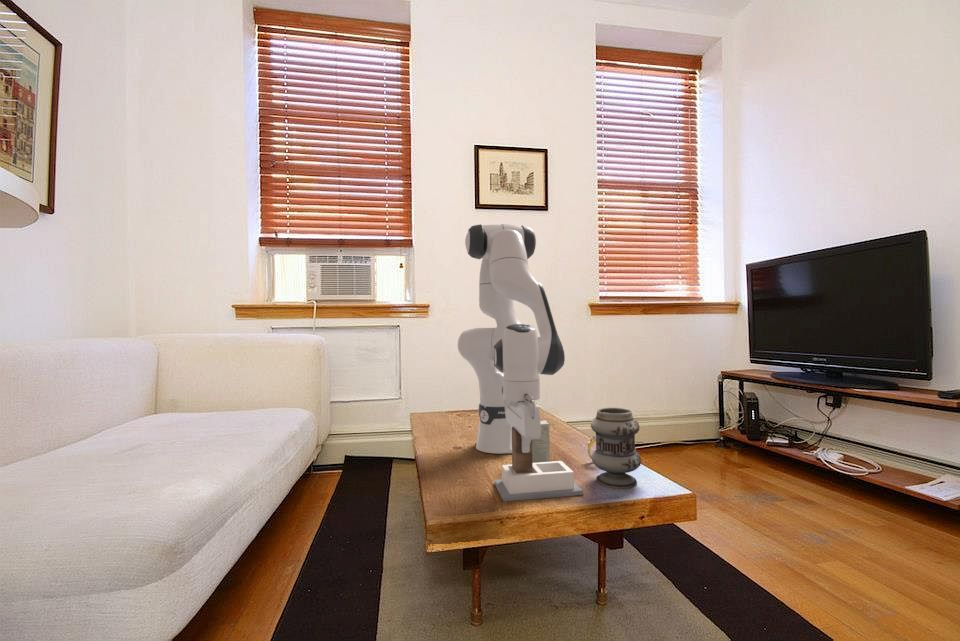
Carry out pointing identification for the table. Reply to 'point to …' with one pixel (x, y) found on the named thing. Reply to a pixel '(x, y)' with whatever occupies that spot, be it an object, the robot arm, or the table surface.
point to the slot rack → (537, 482)
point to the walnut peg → (520, 454)
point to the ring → (590, 444)
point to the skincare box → (541, 445)
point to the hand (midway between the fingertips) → (522, 448)
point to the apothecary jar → (615, 447)
